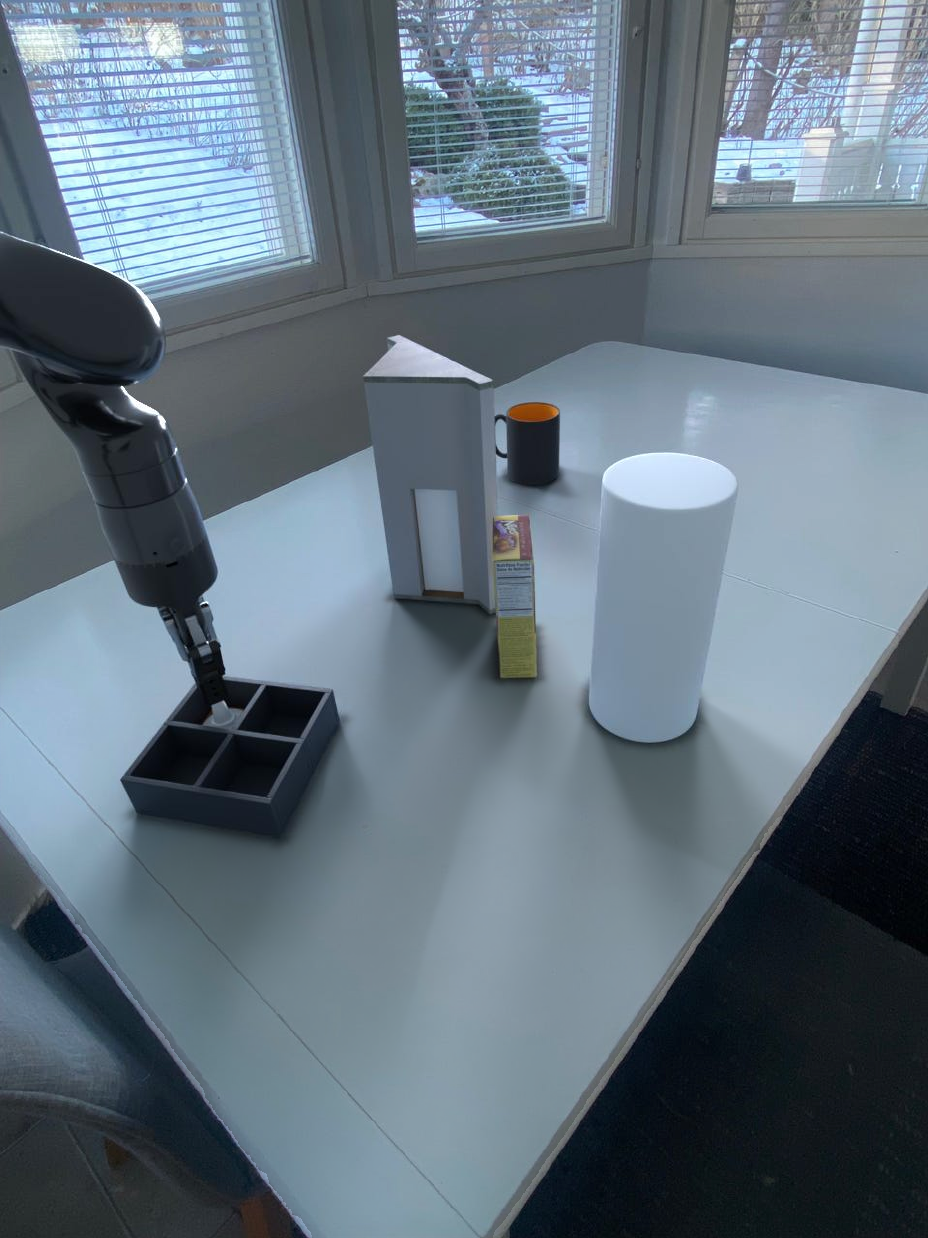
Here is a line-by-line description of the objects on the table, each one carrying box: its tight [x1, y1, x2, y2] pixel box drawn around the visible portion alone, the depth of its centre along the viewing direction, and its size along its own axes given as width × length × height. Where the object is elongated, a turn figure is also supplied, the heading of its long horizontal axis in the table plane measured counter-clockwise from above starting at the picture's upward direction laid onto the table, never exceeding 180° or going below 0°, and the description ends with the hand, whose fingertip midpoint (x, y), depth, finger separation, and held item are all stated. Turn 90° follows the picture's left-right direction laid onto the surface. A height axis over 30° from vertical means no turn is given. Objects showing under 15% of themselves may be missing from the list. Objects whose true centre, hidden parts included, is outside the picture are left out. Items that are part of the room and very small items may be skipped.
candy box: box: [493, 514, 538, 679], centre depth 77 cm, size 9×4×15 cm, turn 178°
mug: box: [495, 401, 561, 486], centre depth 116 cm, size 8×12×10 cm
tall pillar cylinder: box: [588, 452, 739, 744], centre depth 67 cm, size 11×11×25 cm
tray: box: [119, 675, 341, 839], centre depth 69 cm, size 14×14×5 cm
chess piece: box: [203, 701, 243, 729], centre depth 70 cm, size 5×5×10 cm
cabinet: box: [362, 334, 499, 615], centre depth 86 cm, size 21×10×28 cm, turn 31°
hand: (213, 692), depth 70 cm, fingers closed on chess piece
